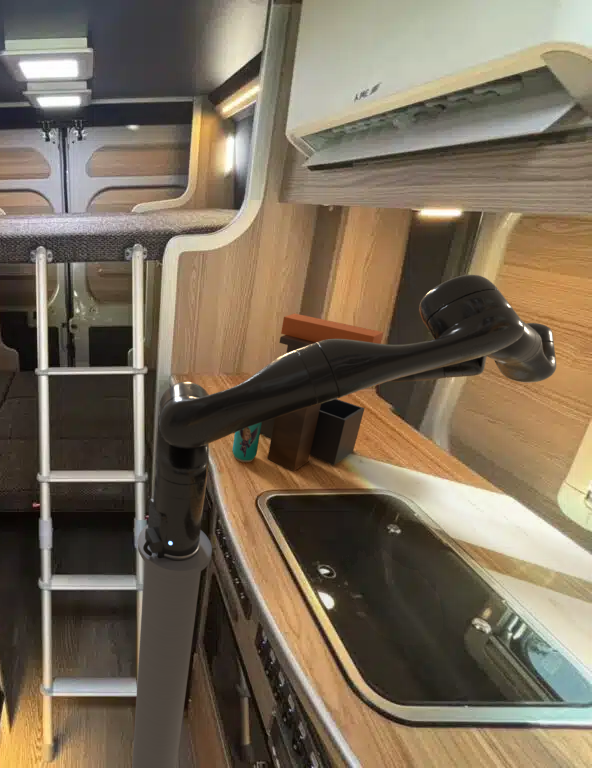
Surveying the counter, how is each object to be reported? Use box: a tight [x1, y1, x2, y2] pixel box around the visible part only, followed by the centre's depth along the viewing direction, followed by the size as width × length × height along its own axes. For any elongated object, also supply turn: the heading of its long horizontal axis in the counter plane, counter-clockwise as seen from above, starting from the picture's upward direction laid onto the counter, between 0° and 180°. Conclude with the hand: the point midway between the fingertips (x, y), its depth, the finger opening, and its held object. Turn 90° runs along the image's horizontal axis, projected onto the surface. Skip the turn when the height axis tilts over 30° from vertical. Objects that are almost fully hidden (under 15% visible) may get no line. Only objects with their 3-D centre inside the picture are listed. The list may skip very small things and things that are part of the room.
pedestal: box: [267, 334, 321, 472], centre depth 110 cm, size 10×9×32 cm
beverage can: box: [232, 422, 262, 463], centre depth 115 cm, size 6×6×15 cm
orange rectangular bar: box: [280, 313, 384, 344], centre depth 101 cm, size 19×5×4 cm, turn 38°
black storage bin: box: [260, 398, 365, 466], centre depth 123 cm, size 23×10×13 cm, turn 38°
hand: (331, 370), depth 107 cm, fingers open, 8 cm apart
